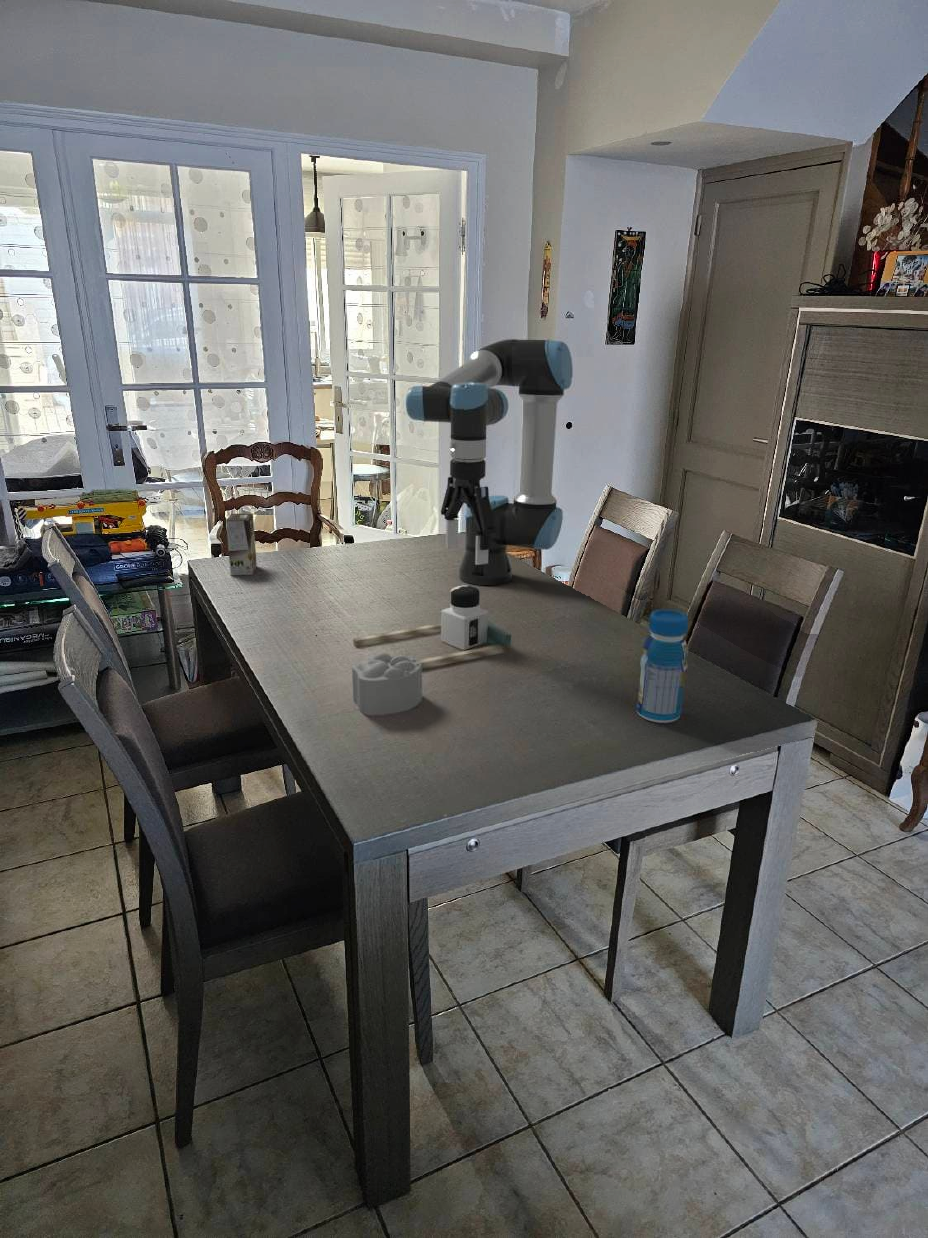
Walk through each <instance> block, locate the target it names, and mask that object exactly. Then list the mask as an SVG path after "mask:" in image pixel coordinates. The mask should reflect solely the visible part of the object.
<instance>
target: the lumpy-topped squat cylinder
mask: <svg viewBox="0 0 928 1238" xmlns="http://www.w3.org/2000/svg"><path fill="white" fill-rule="evenodd" d="M351 672H352V673H351V677H352V700H353V702H354V704H355V705H356V706H357V707H358V710H359V713H361V714H362V715H365V716H375V717H377V716H383V715H384V716H386V715H391V714H392V715H393V714H398V713H402V712H406V711H410V710H411V709H413V708H415V707H417V706H418V705H419V704H420V703H421V702H422V701H423V669H422V665H421V663H420V662H418V661H417V660H416V659H413V658H409V657H407V656H405V655H401V654H400V655H392V656H391V655H390V654H388V653H385V652H379V653H377V654H375V655H374V656H373V657H372V658H369V659H365V660H361V661H360V660H359V661H357V662H355V663H354V664H353V665H352V667H351Z"/></svg>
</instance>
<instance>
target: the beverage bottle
mask: <svg viewBox="0 0 928 1238" xmlns="http://www.w3.org/2000/svg"><path fill="white" fill-rule="evenodd" d="M688 625H689V618H688V615H687V614H686V613H683V612H681V611H679V610H674V609H664V608H663V609H656V610H653V611H651V613H650V616H649V622H648V631H649V633H650V634H649V635H648V636H647V638H646V639H645V641H644V642H643V645H642V651H643V654H642V656H641V657H640V662H639V663H640V677H639V685H638V686H639V688H638V696H637V702H636V708H635V709H636V713H637V714H638V716H640V717H641V718H643V720H647V721H650V722H652V723H658V724H669V723H674V722H676V721H678V720H679V718H680V717H681V715H682V702H683V701H682V700H683V693H684V686H685V685H684V684H685V679H686V677H685V676H686V672H687V670H688V659H687V657H688V655H689V646H688V644H687V642H686V640H685V638H684V637H685V636H686V634H687V632H688Z"/></svg>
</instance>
